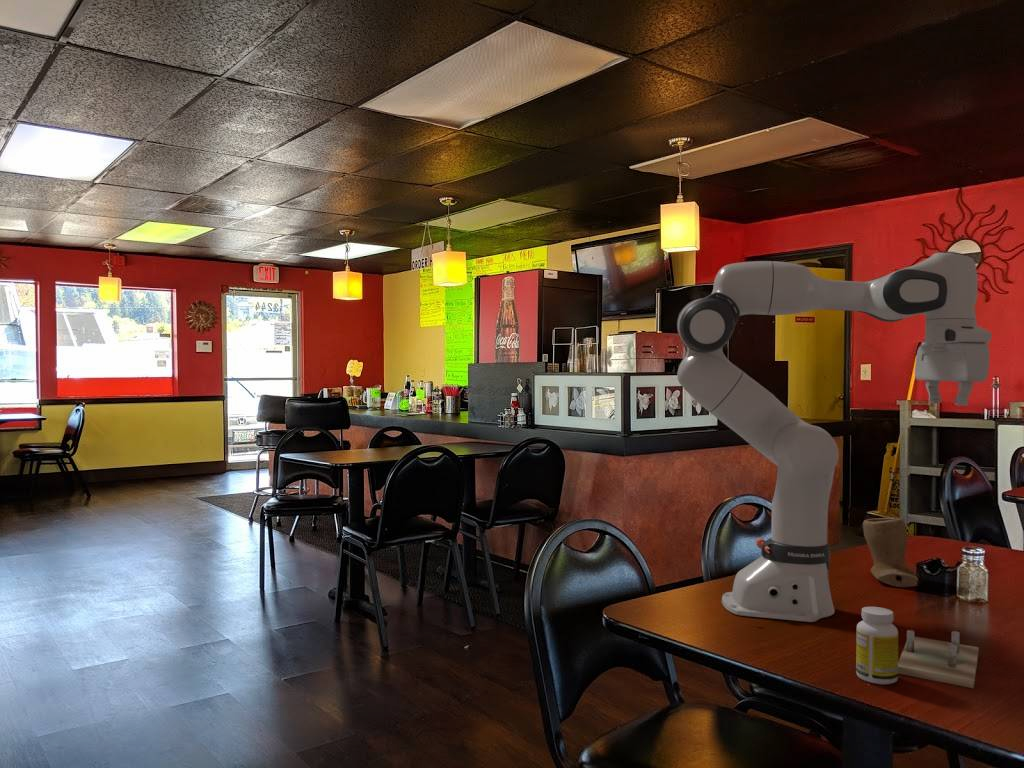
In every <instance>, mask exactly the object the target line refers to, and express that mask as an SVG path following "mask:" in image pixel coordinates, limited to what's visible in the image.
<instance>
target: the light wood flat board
mask: <svg viewBox="0 0 1024 768" xmlns="http://www.w3.org/2000/svg"><path fill="white" fill-rule="evenodd" d="M906 644H907V641H905V645H904V647H903V650H902V652H901V654H900V657H899V658H898V675H904V676H909V677H913V678H919V679H924V680H928V681H934V682H938V683H945V684H949V685H954V686H959V687H960V686H961V687H965V688H969V689H970V688H971V689H974V688H975V682H976V681H975V680H976V674H977V666H978V659H979V647H978V646H972V645H967V644H966V645H965V644H961V643H959V654H957V656H956V667H949V666H948V644H951V642H949V641H944V640H938V639H931V638H926V637H921V636H915V635H914V652H907V651H906Z"/></svg>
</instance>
